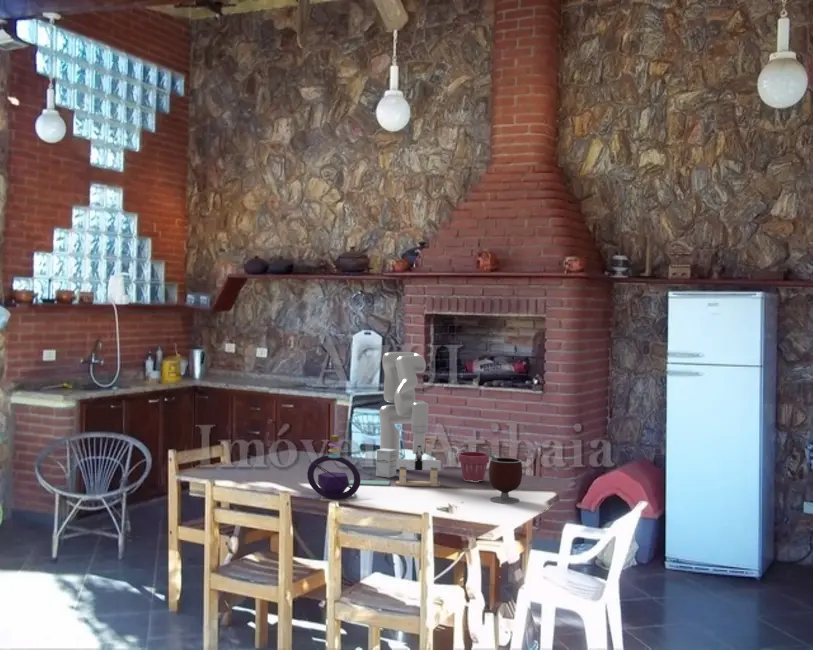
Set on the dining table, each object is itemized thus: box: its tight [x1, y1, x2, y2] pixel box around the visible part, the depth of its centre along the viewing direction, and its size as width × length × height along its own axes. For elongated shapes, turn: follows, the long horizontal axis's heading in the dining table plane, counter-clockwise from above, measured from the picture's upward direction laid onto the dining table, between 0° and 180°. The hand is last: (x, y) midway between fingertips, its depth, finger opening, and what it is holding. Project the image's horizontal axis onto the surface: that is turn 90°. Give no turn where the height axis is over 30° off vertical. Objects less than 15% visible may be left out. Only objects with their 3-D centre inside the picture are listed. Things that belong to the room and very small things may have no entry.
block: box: [396, 458, 442, 471], centre depth 398 cm, size 20×4×4 cm, turn 90°
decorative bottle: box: [307, 434, 361, 500], centre depth 369 cm, size 22×21×25 cm
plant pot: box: [458, 451, 490, 481], centre depth 411 cm, size 14×14×13 cm
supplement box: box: [375, 448, 397, 479], centre depth 418 cm, size 7×7×13 cm
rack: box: [395, 467, 441, 487], centre depth 398 cm, size 6×20×8 cm, turn 90°
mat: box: [348, 479, 391, 487], centre depth 397 cm, size 8×18×1 cm, turn 90°
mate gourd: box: [485, 452, 523, 505], centre depth 367 cm, size 16×14×20 cm
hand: (418, 468), depth 398 cm, fingers open, 7 cm apart
